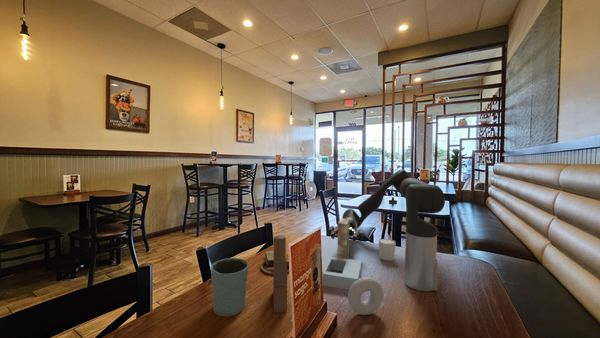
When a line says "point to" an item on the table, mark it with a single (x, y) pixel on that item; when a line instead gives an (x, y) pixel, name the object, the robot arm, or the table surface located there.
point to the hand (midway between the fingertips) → (343, 237)
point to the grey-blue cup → (229, 286)
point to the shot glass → (387, 249)
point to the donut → (372, 301)
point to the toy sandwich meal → (271, 262)
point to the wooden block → (280, 274)
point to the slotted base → (348, 267)
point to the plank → (343, 238)
